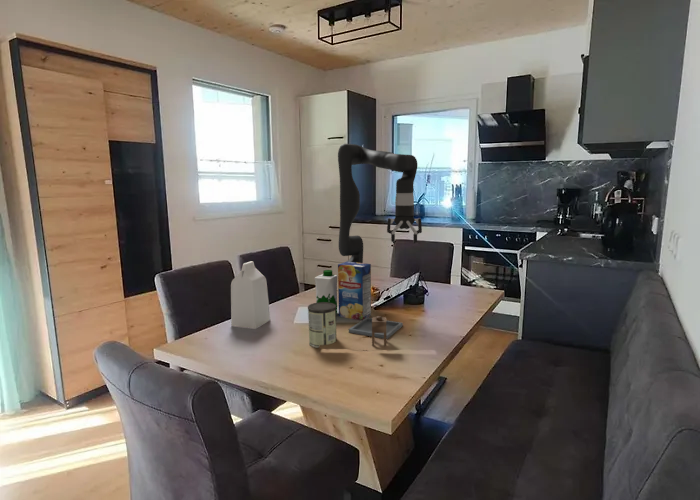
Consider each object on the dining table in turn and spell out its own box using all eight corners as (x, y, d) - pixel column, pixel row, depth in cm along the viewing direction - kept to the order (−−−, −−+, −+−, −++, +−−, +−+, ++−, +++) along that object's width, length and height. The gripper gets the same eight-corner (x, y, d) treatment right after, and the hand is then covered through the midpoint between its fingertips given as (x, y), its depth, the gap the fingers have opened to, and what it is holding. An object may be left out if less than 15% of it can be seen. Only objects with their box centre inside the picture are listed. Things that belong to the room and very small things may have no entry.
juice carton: (338, 319, 182) (337, 264, 179) (347, 314, 189) (346, 261, 185) (362, 323, 176) (362, 267, 173) (371, 318, 183) (371, 264, 179)
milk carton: (339, 314, 189) (339, 270, 186) (331, 320, 181) (330, 274, 178) (322, 312, 193) (321, 269, 189) (313, 317, 184) (312, 273, 181)
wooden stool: (372, 348, 149) (372, 319, 148) (372, 343, 154) (372, 314, 152) (386, 349, 149) (386, 319, 147) (386, 343, 154) (386, 314, 152)
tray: (348, 335, 163) (348, 329, 162) (366, 323, 177) (366, 317, 176) (387, 342, 155) (387, 335, 155) (402, 328, 169) (402, 322, 169)
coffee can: (315, 336, 162) (314, 301, 160) (340, 339, 159) (340, 303, 156) (304, 346, 152) (302, 308, 150) (330, 349, 149) (329, 311, 147)
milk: (255, 329, 171) (252, 266, 167) (231, 326, 175) (227, 264, 171) (270, 319, 182) (267, 260, 178) (247, 317, 186) (244, 259, 182)
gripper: (387, 204, 170) (387, 244, 173) (422, 204, 169) (422, 244, 172) (387, 203, 178) (386, 241, 181) (421, 203, 177) (420, 241, 180)
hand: (404, 243), depth 176 cm, fingers open, 8 cm apart
